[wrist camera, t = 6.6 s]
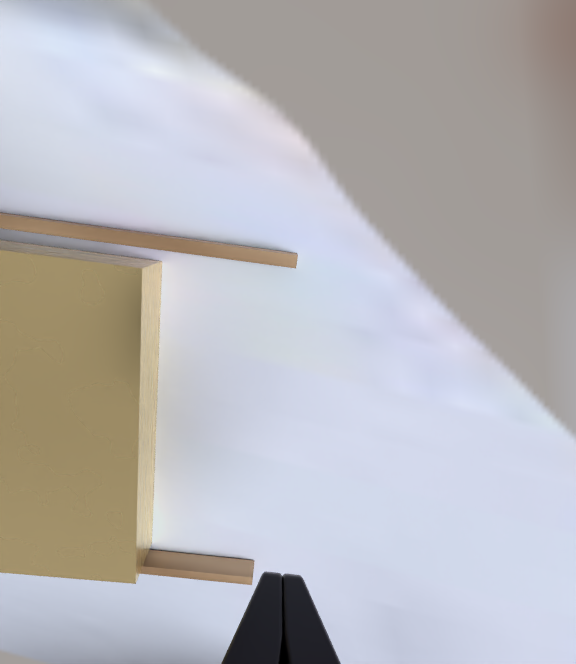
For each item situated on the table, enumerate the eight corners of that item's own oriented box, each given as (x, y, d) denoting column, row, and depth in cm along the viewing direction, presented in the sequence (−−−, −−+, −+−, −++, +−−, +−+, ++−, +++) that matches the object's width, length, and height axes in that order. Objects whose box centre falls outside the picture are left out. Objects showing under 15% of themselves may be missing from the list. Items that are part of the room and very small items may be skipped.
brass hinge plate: (152, 540, 16) (122, 615, 13) (-75, 519, 16) (-163, 593, 12) (163, 261, 13) (125, 274, 10) (-129, 222, 12) (-268, 223, 9)
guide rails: (253, 567, 16) (251, 585, 15) (-16, 539, 16) (-32, 556, 15) (297, 253, 12) (297, 255, 12) (-58, 204, 12) (-82, 203, 11)
